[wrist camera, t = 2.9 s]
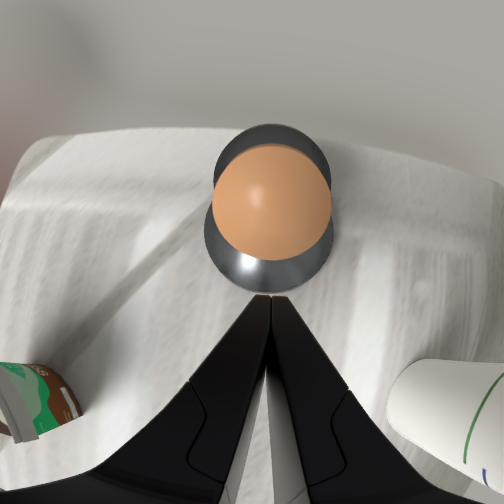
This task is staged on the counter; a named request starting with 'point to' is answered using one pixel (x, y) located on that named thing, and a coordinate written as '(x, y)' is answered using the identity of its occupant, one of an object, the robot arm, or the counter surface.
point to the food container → (33, 401)
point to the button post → (257, 270)
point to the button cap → (272, 202)
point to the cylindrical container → (454, 415)
